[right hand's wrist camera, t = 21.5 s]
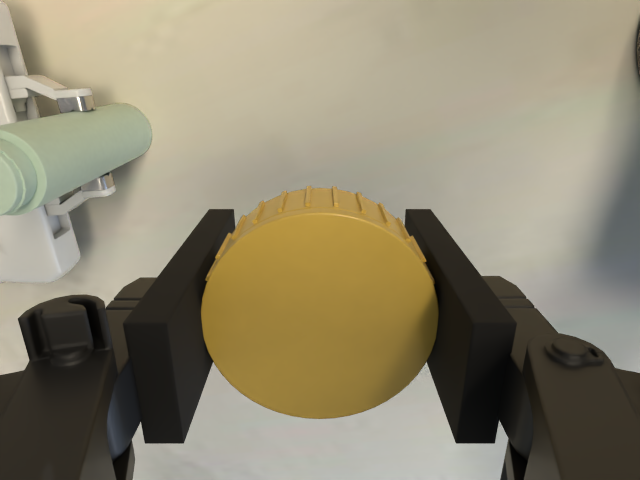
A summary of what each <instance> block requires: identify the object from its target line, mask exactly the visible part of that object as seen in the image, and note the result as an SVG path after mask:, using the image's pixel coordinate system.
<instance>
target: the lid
mask: <svg viewBox="0 0 640 480" xmlns="http://www.w3.org/2000/svg"><path fill="white" fill-rule="evenodd" d="M215 258H216V260H215V261H214V263H213V265H212V267H211V269H210V271H209V273H208V275H207V276H206V279H205V280H206V281H207V283H206V286H205V290H204V293H203V297H202V304H201V320H202V329H203V337H204V341H205V344H206V347H207V350H208V352H209V354H210V356H211V358H212V360H213V362H214V364H215V365H216V367H217V368H218V370H219V371H220V372H221V374H222V375H223V376H224V377H225V378H226V379H227V381H228V382H229V383H230V384H231V385H232V386H233V387H235V388H236V389H237V390H238V391H239V392H240V393H242V394H243V395H245V396H246V397H248V398H249V399H251V400H252V401H254V402H256V403H258V404H260V405H262V406H264V407H266V408H268V409H271V410H273V411H276V412H279V413H283V414H286V415H290V416H295V417H302V418H313V419H326V418H338V417H344V416H350V415H353V414H357V413H361V412H364V411H366V410H369V409H371V408H374V407H376V406H378V405H380V404H382V403H384V402H386V401H388V400H389V399H390V398H392V397H393V396H395V395H396V394H398V393H399V392H400V391H402V390H403V389H404V388H405V387H406V386H407V385H409V383H410V382H411V381H412V380H413V379H414V378H415V377H416V376H417V375H418V373H419V372H420V370H421V369H422V368H423V366H424V365H425V363H426V361H427V359H428V357H429V355H430V353H431V351H432V349H433V346H434V343H435V340H436V334H437V326H438V316H439V307H438V299H437V295H436V291H435V287H434V284H435V281H434V279H433V277H432V275H431V273H430V271H429V269H428V267H427V265H426V264H425V262H426V259H425V257H424V255H423V254H422V252H421V250H420V248H419V246H418V244H417V243H416V241H415V239H414V237H413V236H411V237H410V236H409V234H408V232H407V230H406V229H405V227H404V225H403V223H402V221H401V219H400V218H399V217H398V218H397V219H396V218H394V217H393V216H392V215H391V214H390V213H389V212H388V211H386V210H385V208H384V206H383V204H381V203H379V204H376V203H375V202H373V201H371V200H369V199H366V198H364V197H362V194H361V193H359V192H357V193H356V194H354V193H351V192H347V191H342V190H337V187H334V186H332V189H326V188H313V189H311V186H307V189H303V190H298V191H293V192H289V193H287V192H286V191H283V192H282V194H281V195H280V196H277V197H275V198H273V199H271V200H269V201H267V202H264V201H261V202H260V203H259V205H258V208H256V209H254V210H253V211H252V212H251V213H250V214H249V215H248V216H245V215H243V216H242V217H241V219H240V220H239V222H238V224H237V226H236V228H235V230H234V232H233V233H232V234H231V233H228V235H227V236H226V238H225V240H224V242H223V244H222V246H221V248H220V249H219V251H218V253H217V255H216V257H215Z"/></svg>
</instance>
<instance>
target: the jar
mask: <svg viewBox="0 0 640 480" xmlns="http://www.w3.org/2000/svg"><path fill="white" fill-rule="evenodd" d="M95 108H96V109H95V110H89V111H82V112H76V111H73V112H68V113H63V114H57V115H52V116H47V117H42V118H36V119H31V120H26V121H20V122H15V123H10V124H5V125H0V216H2V215H10V216H16V215H22V214H26V213H28V212H31V211H33V210H34V209H36V208H38V207H40V206H42V205H44V204H46V203H48V202H50V201H52V200H54V199H56V198H58V197H60V196H62V195H64V194H66V193H68V192H70V191H72V190H74V189H76V188H78V187H80V186H82V185H84V184H86V183H88V182H90V181H92V180H94V179H96V178H98V177H100V176H102V175H104V174H106V173H108V172H110V171H112V170H113V169H115V168H117V167H119V166H121V165H123V164H125V163H127V162H129V161H131V160H133V159H135V158H137V157H139V156H141V155H143V154H144V153H145V152H146V151H147V150H148V148H149V146H150V144H151V140H152V130H151V126H150V123H149V121H148V120H147V118H146V117H145V115H144V114H143V113H142V112H141V111H140V110H138V109H137V108H135V107H134V106H132V105H129V104H125V103H115V104H110V105H105V106H99V107H95Z"/></svg>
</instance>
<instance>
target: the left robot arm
mask: <svg viewBox="0 0 640 480" xmlns="http://www.w3.org/2000/svg"><path fill="white" fill-rule="evenodd" d="M35 96H46V97H49V98H51V99H53V100H56V101H57V102H58V106H59V109H60V112H61V113H68V112H73V111H76V112H82V111H89V110H95V109H96V108H95V104H94V99H93V94H92V90H91V88H79V89H68V88H67V87H65V86H63V85H61V84H59V83H57V82H55V81H53V80H51V79H49V78H47V77H45V76H43V75H28V73H27V69H26V66H25V63H24V59H23V56H22V52H21V49H20V45H19V42H18V39H17V35H16V32H15V28H14V25H13V21H12V18H11V14H10V11H9V8H8V6H7V5H6V4H5V3H4V2H3V1H2V0H0V125H5V124H10V123H15V122H20V121H26V120H31V119H36V118H41V117H40V114H39V111H38V107H37V104H36V100H35ZM114 192H116V188H115V184H114V180H113V176H112V172H108V173H106V174H104V175H102V176H100V177H98V178H96V179H94V180H92V181H90V182H88V183H86V184H84V185H82V186H81V190H80V191H78V192H77V193H76V194H74V191H73V190H72V191H70V192H68V193H66V194H64V195H62V196H60V197H58V198H56V199H54V200H52V201H50V202H48V203H46V204H44V205H42V206H40V207H38V208H36V209H34V210H33V211H31V212H28V213H26V214H22V215H16V216H10V215H2V216H0V283H4V282H12V283H51V282H54V281H56V280H58V279H60V278H61V277H63V276H64V275H65V274H67V273H68V272H69V271H70V270H71V269H72V268H73V267H74V266H75V265H76V263H77V262H78V261H79V259H80V251H79V248H78V244H77V241H76V238H75V234H74V231H73V227H72V224H71V220H70V217H69V214H68V212H69V211H71V210H73V209H75V208H76V207H78V206H79V205H81V204H82V203H83V202H85V201H86V200H87V199H89V198H94V197H105V196H109V195H111V194H113V193H114Z"/></svg>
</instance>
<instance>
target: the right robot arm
mask: <svg viewBox="0 0 640 480" xmlns="http://www.w3.org/2000/svg"><path fill="white" fill-rule="evenodd" d="M637 63H638V69H639V74H640V29H639V35H638V42H637ZM405 229H406V230H407V232H408V234H409V236H410V237H411V236H413V237H414V239H415V241H416V243H417V244H418V246H419V248H420V250H421V252H422V254H423V255H424V257H425V259H426V262H425V264H426V265H427V267H428V269H429V271H430V273H431V275H432V277H433V279H434V281H435V284H434V287H435V291H436V295H437V299H438V307H439V316H438V326H437V334H436V340H435V343H434V346H433V349H432V351H431V353H430V355H429V357H428V359H427V364H428V367H429V369H430V372H431V375H432V378H433V381H434V383H435V386H436V389H437V392H438V395H439V397H440V400H441V403H442V406H443V408H444V411H445V414H446V417H447V420H448V422H449V425H450V428H451V431H452V434H453V436H454V439H455V442H456V443H495V439H496V434H497V428H498V423H499V420H500V422H501V424H502V426H503V428H504V430H505V432H506V434H507V436H508V438H509V439H508V444H507V449H506V454H505V459H504V464H503V469H502V474H501V479H500V480H640V373H636V372H631V371H626V370H621V369H617V368H614V366H613V364H612V362H611V360H610V359H609V358H608V357H607V355H606V354H605V353H604V352H603V351H602V350H600V349H599V348H597V347H596V346H594V345H593V344H591V343H589V342H586V341H584V340H582V339H579V338H577V337H573V336H569V335H564V334H560V333H558V332H557V331H556V330H555V329H554V328H553V327H552V325H551V324H550V323H549V322H548V321H547V320H546V319H545V318H544V316H543V315H542V314H541V313H540V312H539V311H538V310H537V309H536V308H534V305H533V304H532V303H531V302H530V301H529V300H528V299H526V296H525V295H524V294H523V293H522V292H521V290H520V289H519V288H518V287H517V286H516V285H514V284H512V283H511V282H509V281H507V280H505V279H504V278H502V277H500V276H481V275H480V274H479V273H478V271H477V270H476V269H475V267H474V266H473V265H472V263H471V262H470V261H469V259H468V258H467V257H466V255H465V254H464V253H463V251H462V250H461V249H460V248H459V246H458V245H457V244H456V242H455V241H454V240H453V238H452V237H451V236H450V234H449V233H448V232H447V230H446V229H445V228H444V227H443V225H442V224H441V223H440V221H439V220H438V219H437V217H436V216H435V215H434V213H433V212H432V211H431V209H406V215H405ZM234 230H235V219H234V209H209V210H208V212H207V213H206V214H205V216H204V217H203V218H202V220H201V221H200V222H199V224H198V225H197V226H196V227H195V229H194V230H193V231H192V233H191V234H190V235H189V237H188V238H187V239H186V241H185V242H184V243H183V245H182V246H181V247H180V248H179V250H178V251H177V252H176V254H175V255H174V256H173V258H172V259H171V260H170V262H169V263H168V264H167V266H166V267H165V268H164V269H163V271H162V272H161V273H160V275H159V276H158V277H157V278H139V279H137V280H135V281H134V282H132V283H130V284H128V285H127V286H125V287H123V289H122V290H121V291H120V292H119V293H118V294H117V295H116V297H115V298H114V301H111V302H110V303H109V305H108V306H107V307H106V309H105V304H104V301H103V300H101V299H100V298H98V297H96V296H90V295H70V296H64V297H59V298H54V299H52V300H49V301H46V302H43V303H40V304H38V305H36V306H34V307H32V308H31V309H29V310H27V311H26V312H25V313H23V314H22V315H21V316H20V317H19V318H18V321H19V325H20V328H21V332H22V335H23V339H24V342H25V346H26V349H27V353H28V356H29V360H30V361H29V363H28V365H27V367H26V369H25V370H24V371H19V372H15V373H9V374H4V375H0V480H132V479H133V472H134V464H135V455H134V449H133V444H132V438H133V436H134V434H135V432H136V430H137V428H138V426H139V424H140V422H141V424H142V430H143V435H144V441H145V443H184V441H185V438H186V436H187V433H188V430H189V427H190V424H191V422H192V419H193V416H194V413H195V410H196V408H197V405H198V402H199V399H200V397H201V394H202V391H203V388H204V385H205V383H206V380H207V377H208V374H209V371H210V369H211V366H212V363H213V360H212V358H211V356H210V354H209V352H208V350H207V347H206V344H205V341H204V337H203V329H202V320H201V304H202V297H203V293H204V290H205V286H206V283H207V281H206V280H205V279H206V276H207V275H208V273H209V271H210V269H211V267H212V265H213V263H214V261H215V260H216V258H215V257H216V255H217V253H218V251H219V249H220V248H221V246H222V244H223V242H224V240H225V238H226V236H227V235H228V233H231V234H232V233H233V232H234Z"/></svg>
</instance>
